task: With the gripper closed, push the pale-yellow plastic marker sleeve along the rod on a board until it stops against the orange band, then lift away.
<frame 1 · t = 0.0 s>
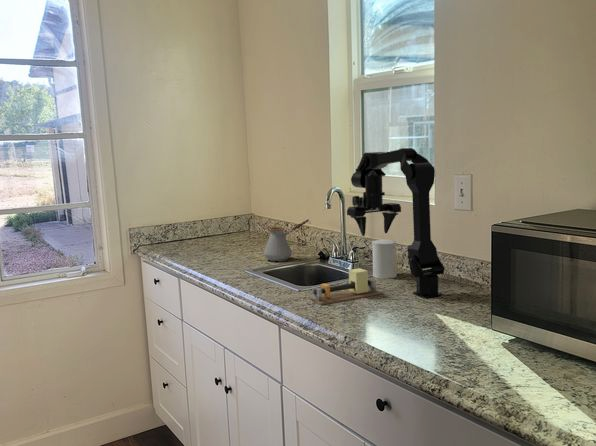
hand: (374, 234, 196), 15 cm above the worktop, fingers open, 9 cm apart
rod on a board: (344, 296, 174), on the worktop
band: (326, 299, 172), resting on rod on a board
cup: (384, 276, 199), on the worktop
sleeve: (358, 280, 176), point 4 cm above the worktop, slide at 0.0 cm
coffee pot: (288, 258, 234), on the worktop
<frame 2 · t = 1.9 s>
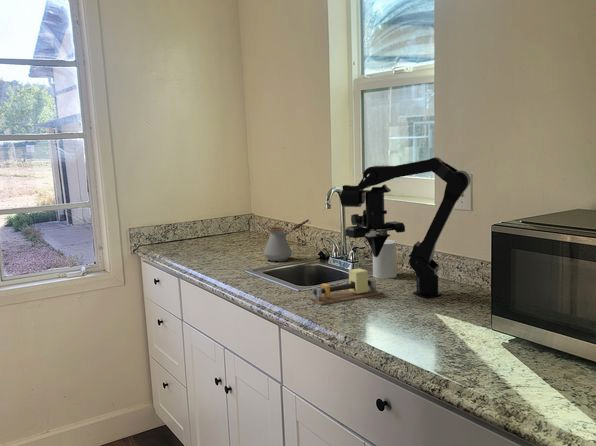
hand: (375, 256, 178), 11 cm above the worktop, fingers closed
nothing on the worktop moved.
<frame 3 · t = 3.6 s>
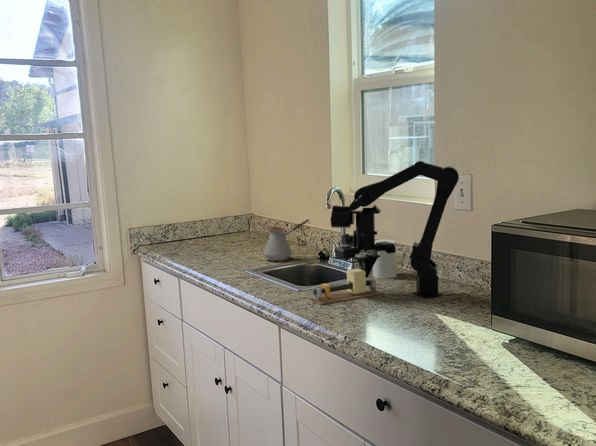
hand: (366, 277, 177), 5 cm above the worktop, fingers closed
sleeve: (356, 281, 176), point 4 cm above the worktop, slide at 0.8 cm, touching gripper
everything else where it was.
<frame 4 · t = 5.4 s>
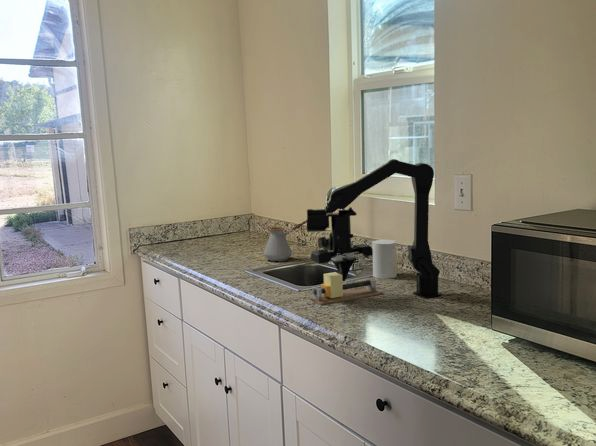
hand: (343, 281, 174), 5 cm above the worktop, fingers closed
sleeve: (333, 285, 172), point 4 cm above the worktop, slide at 8.9 cm, touching band, gripper
everything else where it was.
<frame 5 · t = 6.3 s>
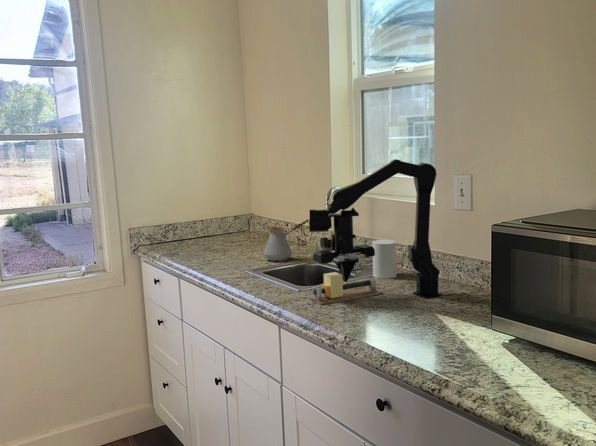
hand: (345, 281, 174), 5 cm above the worktop, fingers closed
sleeve: (333, 285, 172), point 4 cm above the worktop, slide at 8.9 cm, touching band
everything else where it was.
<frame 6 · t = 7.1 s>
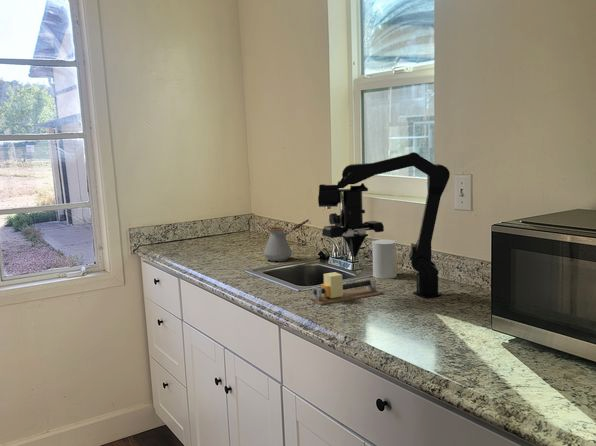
hand: (354, 256, 174), 12 cm above the worktop, fingers closed
nothing on the worktop moved.
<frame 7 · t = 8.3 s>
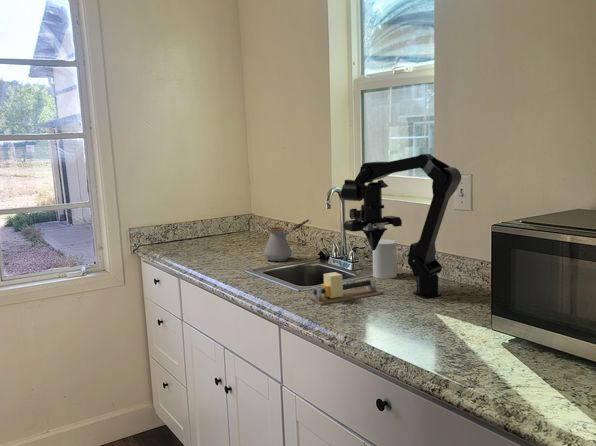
hand: (373, 250, 183), 12 cm above the worktop, fingers closed
nothing on the worktop moved.
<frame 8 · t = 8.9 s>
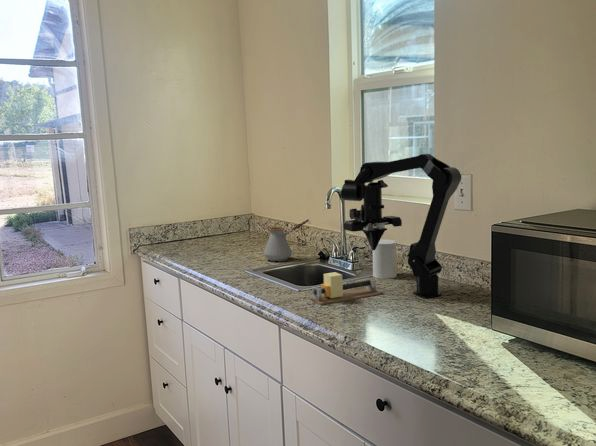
hand: (373, 250, 183), 12 cm above the worktop, fingers closed
nothing on the worktop moved.
at the end: sleeve slide at 8.9 cm; sleeve 2.6 cm from the band (horizontally) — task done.
